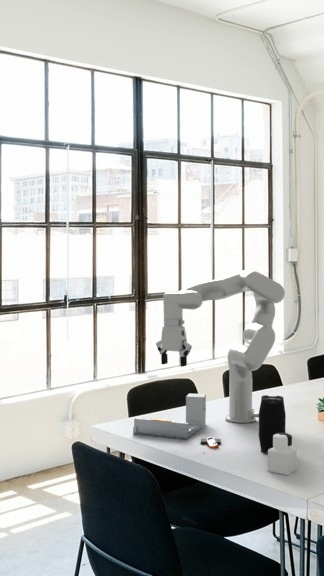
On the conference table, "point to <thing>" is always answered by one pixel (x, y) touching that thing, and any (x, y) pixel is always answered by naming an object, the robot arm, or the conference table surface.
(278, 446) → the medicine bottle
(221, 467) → the conference table surface
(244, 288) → the robot arm
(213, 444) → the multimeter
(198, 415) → the supplement box
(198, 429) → the grey tray
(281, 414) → the portable speaker
